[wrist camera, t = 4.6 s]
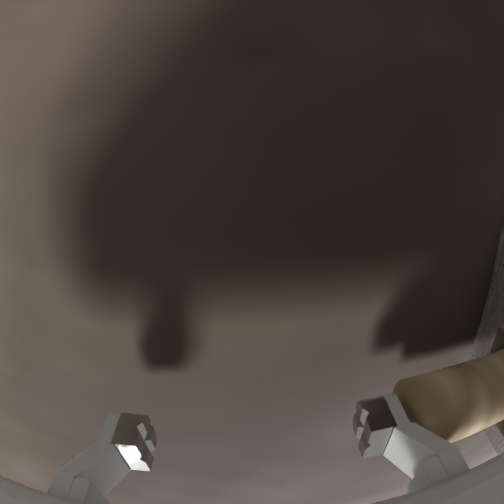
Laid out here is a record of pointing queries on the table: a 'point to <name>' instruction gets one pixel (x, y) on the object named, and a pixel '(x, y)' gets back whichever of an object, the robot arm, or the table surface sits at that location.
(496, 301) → the block
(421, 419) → the axle
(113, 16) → the table surface
